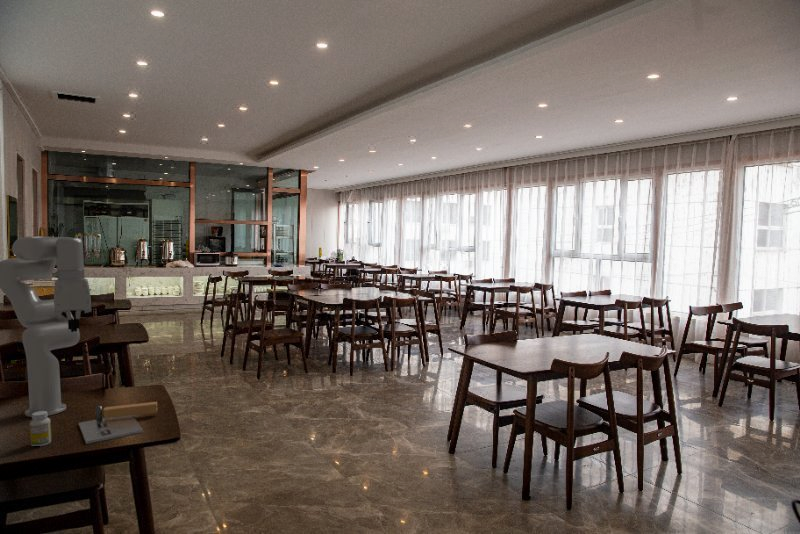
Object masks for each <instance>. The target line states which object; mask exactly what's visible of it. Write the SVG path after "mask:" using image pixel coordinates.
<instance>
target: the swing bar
mask: <svg viewBox="0 0 800 534" xmlns="http://www.w3.org/2000/svg"><path fill="white" fill-rule="evenodd" d="M102 412H103V418H104V419H106V418H115V417H123V416H132V415H133V416H140V415H147V414H157V413H158V401H149V402H140V403H133V404H132V403H131V404H124V405H123V404H121V405H115V406H114V405H113V406H105V407H104V408H103V409H102Z"/></svg>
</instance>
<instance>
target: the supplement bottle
mask: <svg viewBox="0 0 800 534" xmlns="http://www.w3.org/2000/svg"><path fill="white" fill-rule="evenodd" d="M31 419H32V420H31V421H30V422H29V435H30V439H29V440H30V445H31V447H33V446H40V447H44V446H48V445H49V444H51V443H52V425H51V418H49V417H48V412H47V411H39V412H35V413H33V414H32V417H31Z"/></svg>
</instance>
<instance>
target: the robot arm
mask: <svg viewBox="0 0 800 534" xmlns="http://www.w3.org/2000/svg"><path fill="white" fill-rule="evenodd" d="M83 244H84V241H83V240H82V238H80V237H79V238H78V237H71V236H43V235H41V236H40V235H39V236H36V235H35V236H34V235H33V236H23V237H19V238H18V239H16V240H14V242H13V244H12V246H11V251H12V254H14V256H15V257H16V258H14V257H13V258H8V259H6V258H5V259H4V260H1V261H0V290H1V292H2V293H4V295H5V296H6V297H7V298H8V300H9V301H10V303H11V306H12V309H13V311H14V313H15V315H16V317H17V320H18V322H19V323H20V325H21V326H23V327H24V328H26V329H25V330H24V331H23V332H22V335H21V338H22V339H21V340H22V344H23V348H24V353H25V360H26V367H27V369H26V371H27V383H28V384H27V385H28V397H29V398H28V399H29V400H28V401H29V402H28V403H29V408H27V409H26V410H25V411H24V416H26V417H28V418H29V417H30V418H32V414H33V413H35V412H39V411H47V412H48V416H54V415H57V414H59V413H63V412H64V411H65V410H66V409H67V404H65V403H63V402H62V394H61V377H60V376H61V375H60V373H61V372H60V361H59V360H58V358H57V357H56V356H55V355H54V354H53V353H52V352H51V351H53V350H58V349H63V348H64V349H65V348H69V347H70V348H71V347H73V346H75V345H78V343H79V341H80V339H81V334H80V333H81V332H80V319H81V317H82V316H83V315H84V314H86V313H91V312H92V310H93V309H92V297H91V291H90V289H91V288H90V284H89V281H88V278H85V260H84V245H83ZM55 267H56V272H54V270H55ZM50 277H52V278H56V279H57V280H55V282H54V291H53V298H52V299H45V300H44V299H41V298H40V297H39V295H38V293H37V291H36V290H35V289H34V288H33V287H31V286H30V285H28V284H27V283H24V282H23V281H37V280H38V281H39V280H46V279H48V278H50ZM71 311H72V312H73V311H75V314H74V316H73V314H72V312H71ZM48 416H47V417H48Z"/></svg>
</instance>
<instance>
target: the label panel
mask: <svg viewBox="0 0 800 534" xmlns="http://www.w3.org/2000/svg"><path fill="white" fill-rule="evenodd" d="M102 406H103V405H96V406H95V417H96V418H95V419H93V420H86V421H81V422H78V426H79V429H80V432H81V435H82V437H83V440H84V443H85V445H89V444H90V445H91V444H93V443H94V444H95V443H98V442H99V443H100V442H102V441H103V442H105V441H107V440H112V439H118V438H123V437H128V436H132V435H136V434H142V433H144V430H143V428H142V426H141V425H140V423H139V422H138V420H137V418H135V415H132V416H123V417H115V418H106V419H104V417H103V407H102Z"/></svg>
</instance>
